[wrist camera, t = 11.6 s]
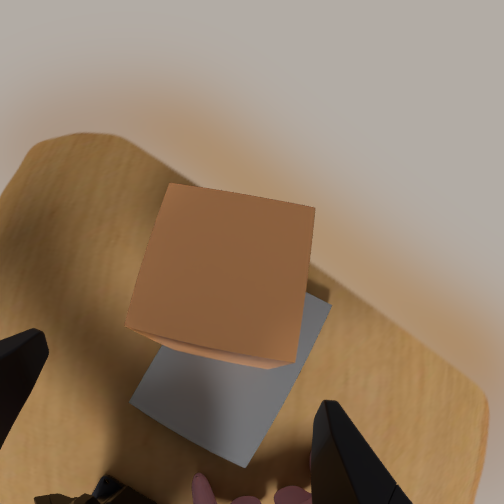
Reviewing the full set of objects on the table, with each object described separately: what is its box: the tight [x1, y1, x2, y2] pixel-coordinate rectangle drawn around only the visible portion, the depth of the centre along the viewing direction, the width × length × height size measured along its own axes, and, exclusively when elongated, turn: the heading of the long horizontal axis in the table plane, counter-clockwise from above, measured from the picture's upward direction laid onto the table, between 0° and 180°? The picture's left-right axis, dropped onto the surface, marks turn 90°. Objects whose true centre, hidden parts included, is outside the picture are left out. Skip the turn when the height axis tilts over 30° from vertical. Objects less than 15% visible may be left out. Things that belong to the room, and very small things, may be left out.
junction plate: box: [129, 292, 332, 468], centre depth 19 cm, size 13×9×4 cm
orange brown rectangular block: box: [124, 183, 315, 369], centre depth 17 cm, size 6×6×10 cm
